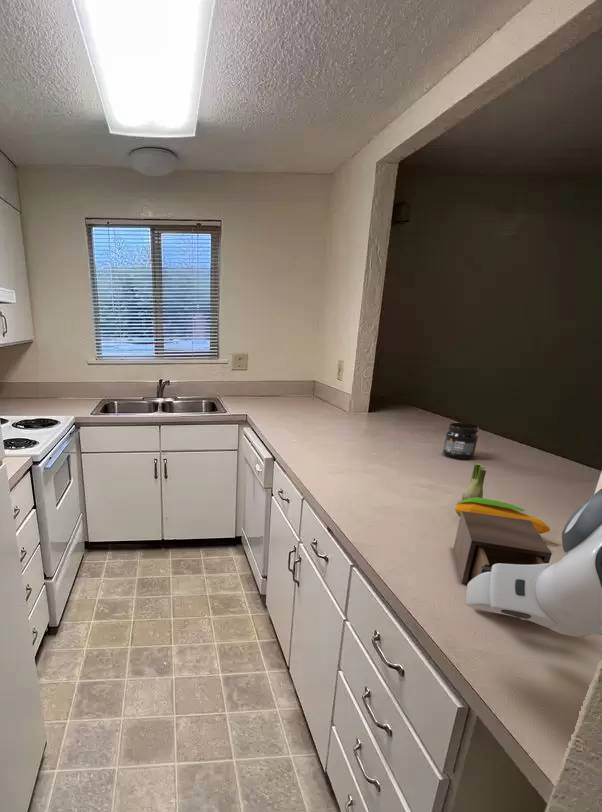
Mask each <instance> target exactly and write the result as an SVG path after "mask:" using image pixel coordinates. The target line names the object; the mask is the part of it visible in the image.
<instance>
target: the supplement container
mask: <svg viewBox="0 0 602 812" xmlns="http://www.w3.org/2000/svg"><path fill="white" fill-rule="evenodd" d="M478 432H479V425H476V424H473V423H467V422H466V423H465V422H452V423H450V424H448V431H446V433H445V440H444V445H443V449H442V454H443V455H444V456H445V457H447V458H450V459H456V460H471V459H473V458H474V456H475V451H476V447H477V442H478V439H479V434H478Z"/></svg>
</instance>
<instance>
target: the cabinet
mask: <svg viewBox="0 0 602 812" xmlns="http://www.w3.org/2000/svg"><path fill="white" fill-rule="evenodd" d="M476 545H478V546H484V547H490V548H496V549H502V550H508V551H514V552H520V553H526V554H533V555H539V556H540V557H541V559H542V560H543V562H544V564H547V563H550V561H551V558H552V555H553V553H552V551H551V549H550V548H549V547H548V545H547V543H546V542H545V540H544V539H543V537H542V535H541V534H539V533H538V531H537V530H536V528H535V527H534V525H533V524H532V522H531V521H529V520H522V519H515V518H508V517H501V516H494V515H487V514H479V513H472V512H465V511H462V513H461V517H460V516H459V522H458V526H457V531H456V536H455V539H454V544H453V549H452V550H453V554H454V558H455V562H456V566H457V570H458V575H459V578H460V582H461V584H462V585H463V584H464V585H468V583H469V582H470V581H471V578H470V574H469V572H470V568H471V564H472V560H473V556H474V551H475V547H476Z"/></svg>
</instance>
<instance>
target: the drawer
mask: <svg viewBox="0 0 602 812" xmlns="http://www.w3.org/2000/svg"><path fill="white" fill-rule="evenodd" d="M498 563H502V564H524V565H536V564H544V562H543V560H542V559H541V557H540V556H539V555H533V554H526V553H520V552H514V551H508V550H502V549H496V548H490V547H484V546H478V545H476V547H475V551H474V556H473V560H472V564H471V568H470V572H469V574H470V578H471V580H472V579H473V578H475V577H476V576H478V575H479V574H482V573H485V572H491V569H492V566H493V565H494V564H498Z"/></svg>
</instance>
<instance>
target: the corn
mask: <svg viewBox="0 0 602 812" xmlns="http://www.w3.org/2000/svg"><path fill="white" fill-rule="evenodd" d="M454 511H455V513H456V514H457V516H459V518H460V517H461V513H462V511H465V512H472V513H479V514H487V515H494V516H501V517H508V518H515V519H522V520H529V521H531V522H532V524H533V525H534V527H535V528H536V530H537V531H538V533H539V534H540V535H541V534H545V533H549V532H550V531H551V528H550V526H549V525H547V524H546V523H545V522H544V521H542V520H541V519H539V518H536V517H534V516H531V515H528V514H526V513H523V512H525V511H526V509H523V508H521V507H519V506H516V505H514V504H510V503H507V502H502V501H499V500H494V499H489V498H479V497H475V498H468V499H464V500H462V499H461V500H460V501H459V502H457V503H456V504H455V507H454Z"/></svg>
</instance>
